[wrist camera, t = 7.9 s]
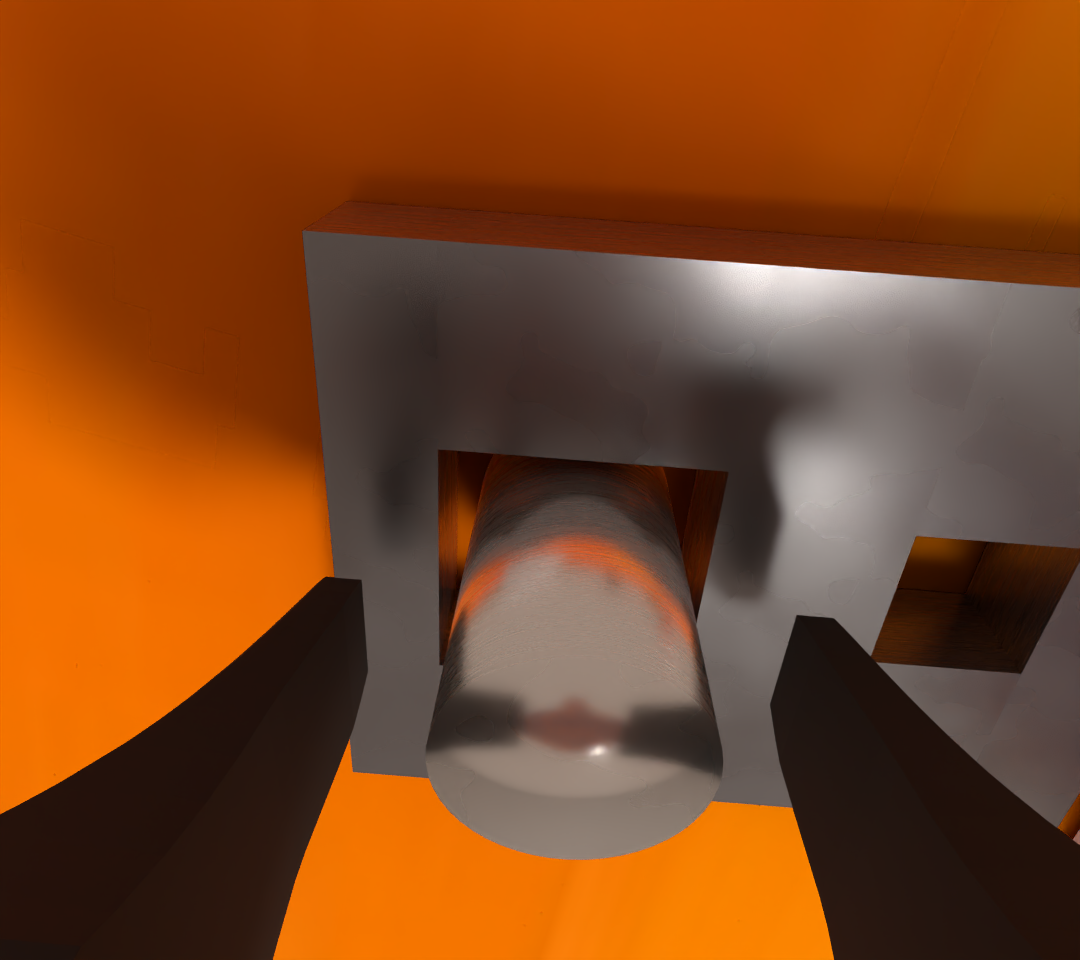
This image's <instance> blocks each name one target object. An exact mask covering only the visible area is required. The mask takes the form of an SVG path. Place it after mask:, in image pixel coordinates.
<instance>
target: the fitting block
mask: <svg viewBox="0 0 1080 960" xmlns="http://www.w3.org/2000/svg"><path fill="white" fill-rule="evenodd" d="M302 234H303V244H304V255H305V266H306V276H307V287H308V298H309V308H310V319H311V330H312V340H313V351H314V362H315V372H316V383H317V394H318V404H319V415H320V426H321V436H322V447H323V458H324V468H325V479H326V490H327V500H328V511H329V522H330V532H331V543H332V554H333V564H334V575H335V578H347V579H359V580H362V591H363V605H364V619H365V633H366V647H367V661H368V674H367V678H366V682H365V686H364V690H363V694H362V698H361V702H360V706H359V710H358V714H357V717H356V721H355V725H354V728H353V731H352V733H351V736H350V745H351V756H352V767H353V772H360V773H373V774H385V775H397V776H410V777H422V778H429V776H428V772H427V767H426V745H427V740H428V735H429V730H430V726H431V721H432V716H433V712H434V707H435V702H436V698H437V693H438V688H439V684H440V679H441V675H442V670H443V665H444V661H445V656H446V651H447V647H448V642H449V637H450V633H451V628H452V623H453V619H454V614H455V609H456V605H457V600H458V595H459V591H460V589H457V501H458V451H467V452H480V453H493V454H506V455H519V456H532V457H545V458H558V459H571V460H584V461H597V462H610V463H623V464H636V465H649V466H662V467H675V468H688V469H697V470H696V475H695V480H694V485H693V491H692V496H691V501H690V506H689V512H688V517H687V522H686V527H685V533H684V538H683V543H682V548H681V552H682V557H683V562H684V567H685V571H686V576H687V581H688V586H689V591H690V596H691V600H692V605H693V610H694V615H695V620H696V624H697V629H698V634H699V639H700V644H701V649H702V653H703V658H704V663H705V668H706V673H707V678H708V682H709V687H710V692H711V697H712V702H713V707H714V711H715V716H716V721H717V726H718V731H719V736H720V740H721V745H722V752H723V771H722V777H721V781H720V784H719V787H718V789H717V791H716V793H715V795H714V797H713V799H712V801H718V802H730V803H743V804H755V805H767V806H779V807H792V804H791V801H790V797H789V794H788V790H787V787H786V784H785V780H784V777H783V773H782V770H781V766H780V763H779V757H778V752H777V746H776V741H775V735H774V728H773V722H772V715H771V709H770V702H771V699H772V695H773V692H774V689H775V685H776V682H777V679H778V675H779V672H780V669H781V665H782V662H783V659H784V655H785V652H786V649H787V645H788V642H789V639H790V635H791V632H792V628H793V625H794V622H795V618H796V615H804V616H817V617H829V618H834V619H835V620H836V621H837V622H838V623H839V624H840V625H841V626H842V627H843V628H844V629H845V630H846V631H847V632H848V633H849V634H850V635H851V636H852V637H853V638H854V639H855V640H856V641H857V642H858V643H859V645H860V646H861V647H862V648H863V649H864V650H865V651H866V652H867V653H868V654H869V655H870V656H871V657H872V658H873V660H874V661H875V662H876V663H877V664H878V665H879V666H880V667H881V668H882V669H883V670H884V671H885V672H886V673H887V674H888V675H889V676H890V678H891V679H892V680H893V681H894V682H895V683H896V684H897V685H898V686H899V687H900V688H901V689H902V690H903V691H904V692H905V693H906V694H907V695H908V696H909V697H910V698H911V699H912V700H913V701H914V702H915V703H916V704H917V705H918V706H919V707H920V708H921V709H922V710H923V711H924V712H925V713H926V714H927V715H928V716H929V717H930V718H931V719H932V720H933V721H934V722H935V723H936V724H937V725H938V726H939V727H940V728H941V729H942V730H943V731H944V732H945V733H946V734H947V735H948V736H949V737H950V738H952V739H953V740H954V741H955V742H956V743H957V744H958V745H959V746H960V747H961V748H962V749H964V750H965V751H966V752H967V753H968V754H969V755H970V756H971V757H972V758H973V759H974V760H976V761H977V762H978V763H979V764H980V765H981V766H982V767H983V768H984V769H985V770H987V771H988V772H989V773H990V774H991V775H992V776H994V777H995V778H996V779H997V780H998V781H999V782H1001V783H1002V784H1003V785H1004V786H1005V787H1007V788H1008V789H1009V790H1010V791H1011V792H1013V793H1014V794H1015V795H1016V796H1018V797H1019V798H1020V799H1021V800H1023V801H1024V802H1025V803H1026V804H1028V805H1029V806H1030V807H1031V808H1032V809H1034V810H1035V811H1036V812H1037V813H1039V814H1040V815H1041V816H1042V817H1044V818H1045V819H1046V820H1047V821H1049V822H1050V823H1051V824H1053V825H1054V826H1055V827H1058V826H1059V824H1060V823H1061V821H1062V820H1063V818H1064V816H1065V815H1066V813H1067V812H1068V810H1069V809H1070V807H1071V806H1072V804H1073V802H1074V801H1075V799H1076V798H1077V796H1078V795H1079V793H1080V255H1076V254H1062V253H1049V252H1035V251H1021V250H1008V249H994V248H980V247H967V246H953V245H940V244H926V243H912V242H899V241H885V240H872V239H858V238H844V237H831V236H817V235H803V234H790V233H776V232H763V231H749V230H735V229H722V228H708V227H694V226H681V225H667V224H654V223H640V222H626V221H613V220H599V219H585V218H572V217H558V216H545V215H531V214H517V213H504V212H490V211H477V210H463V209H449V208H436V207H422V206H408V205H395V204H381V203H368V202H354V201H347V202H345V203H344V204H342V205H341V206H339V207H338V208H336V209H335V210H333V211H331V212H330V213H328V214H327V215H325V216H324V217H322V218H321V219H319V220H318V221H316V222H315V223H313V224H312V225H310V226H309V227H307V228H305V229H304V230H302ZM916 536H924V537H937V538H950V539H963V540H976V541H988V543H987V545H986V547H985V550H984V552H983V554H982V557H981V559H980V561H979V563H978V566H977V568H976V570H975V573H974V575H973V577H972V579H971V582H970V584H969V586H968V589H967V591H966V593H965V594H959V593H946V592H934V591H921V590H908V589H896V588H897V585H898V583H899V580H900V577H901V575H902V572H903V569H904V567H905V564H906V561H907V559H908V556H909V553H910V551H911V548H912V545H913V543H914V540H915V538H916ZM792 808H793V807H792Z"/></svg>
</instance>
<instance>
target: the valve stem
mask: <svg viewBox="0 0 1080 960" xmlns="http://www.w3.org/2000/svg"><path fill="white" fill-rule="evenodd" d="M426 767H427V772H428V776H429V779H430V781H431V784H432V787H433V789H434V790H435V792H436V794H437V795H438V797H439V799H440V800H441V802H442V803H443V804H444V805H445V806H446V808H447V809H448V810H449V811H450V812H451V813H452V814H453V815H454V816H455V817H456V818H457V819H458V820H459V821H460V822H462V823H463V824H465V825H466V826H467V827H469V828H470V829H471V830H473V831H474V832H476V833H478V834H480V835H481V836H483V837H485V838H487V839H489V840H491V841H493V842H495V843H497V844H500V845H502V846H505V847H508V848H511V849H513V850H516V851H520V852H524V853H528V854H532V855H537V856H543V857H548V858H558V859H576V860H587V859H600V858H608V857H615V856H621V855H625V854H629V853H633V852H637V851H640V850H643V849H646V848H649V847H652V846H654V845H656V844H659V843H661V842H663V841H665V840H667V839H669V838H671V837H672V836H674V835H676V834H677V833H679V832H681V831H682V830H684V829H685V828H686V827H687V826H689V825H690V824H691V823H693V822H694V821H695V820H696V819H697V818H698V817H699V816H700V815H701V814H702V813H703V812H704V810H705V809H706V808H707V806H708V805H709V804H710V802H711V801H712V799H713V797H714V795H715V793H716V791H717V789H718V787H719V784H720V781H721V777H722V771H723V752H722V745H721V740H720V736H719V731H718V726H717V721H716V716H715V711H714V707H713V702H712V697H711V692H710V687H709V682H708V678H707V673H706V668H705V663H704V658H703V653H702V649H701V644H700V639H699V634H698V629H697V624H696V620H695V615H694V610H693V605H692V600H691V596H690V591H689V586H688V581H687V576H686V571H685V567H684V562H683V557H682V552H681V547H680V542H679V538H678V533H677V528H676V523H675V518H674V513H673V509H672V504H671V499H670V494H669V489H668V484H667V480H666V476H665V473H664V470H663V467H662V466H649V465H636V464H623V463H610V462H597V461H584V460H571V459H558V458H545V457H532V456H519V455H506V454H494V455H493V457H492V458H491V460H490V462H489V464H488V466H487V469H486V472H485V475H484V479H483V484H482V488H481V493H480V498H479V502H478V507H477V512H476V516H475V521H474V526H473V530H472V535H471V540H470V544H469V549H468V554H467V558H466V563H465V567H464V572H463V577H462V581H461V586H460V591H459V595H458V600H457V605H456V609H455V614H454V619H453V623H452V628H451V633H450V637H449V642H448V647H447V651H446V656H445V661H444V665H443V670H442V675H441V679H440V684H439V688H438V693H437V698H436V702H435V707H434V712H433V716H432V721H431V726H430V730H429V735H428V740H427V745H426Z"/></svg>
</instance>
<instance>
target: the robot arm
mask: <svg viewBox="0 0 1080 960" xmlns="http://www.w3.org/2000/svg"><path fill="white" fill-rule="evenodd" d="M367 674H368V661H367V647H366V633H365V619H364V605H363V591H362V580H359V579H347V578H335V577H325V578H323V579H322V580H321V581H320V582H318V583H317V584H316V585H315V586H314V587H313V588H312V589H311V590H310V591H309V592H308V593H307V594H306V595H305V596H304V597H303V598H302V599H301V600H300V601H299V602H298V603H296V604H295V605H294V606H293V607H292V608H291V609H290V610H289V611H288V612H287V613H286V614H285V615H284V616H283V617H282V618H281V619H280V620H279V621H278V622H276V623H275V624H274V625H273V626H272V627H271V628H270V629H269V630H268V631H267V632H266V633H265V634H263V635H262V636H261V637H260V638H259V639H258V640H257V641H256V642H255V643H253V644H252V645H251V646H250V647H249V648H248V649H247V650H246V651H245V652H243V653H242V654H241V655H240V656H239V657H238V658H237V659H236V660H234V661H233V662H232V663H231V664H230V665H229V666H227V667H226V668H225V669H224V670H222V671H221V672H220V673H219V674H217V675H216V676H215V677H214V678H213V679H211V680H210V681H209V682H208V683H206V684H205V685H204V686H203V687H202V688H200V689H199V690H198V691H197V692H195V693H194V694H193V695H192V696H190V697H189V698H188V699H187V700H185V701H184V702H183V703H181V704H180V705H179V706H177V707H176V708H175V709H173V710H172V711H171V712H169V713H168V714H166V715H165V716H164V717H162V718H161V719H160V720H158V721H157V722H155V723H154V724H152V725H151V726H150V727H148V728H147V729H145V730H144V731H142V732H141V733H139V734H138V735H136V736H135V737H133V738H132V739H130V740H129V741H127V742H126V743H124V744H123V745H121V746H120V747H118V748H116V749H115V750H113V751H111V752H110V753H108V754H106V755H105V756H103V757H101V758H100V759H98V760H96V761H95V762H93V763H91V764H90V765H88V766H86V767H85V768H83V769H81V770H80V771H78V772H77V773H75V774H73V775H72V776H70V777H68V778H67V779H65V780H63V781H62V782H60V783H58V784H56V785H55V786H53V787H51V788H49V789H47V790H45V791H44V792H42V793H40V794H38V795H36V796H34V797H32V798H31V799H29V800H27V801H25V802H23V803H21V804H20V805H18V806H16V807H14V808H12V809H10V810H8V811H6V812H4V813H2V814H0V960H273V956H274V953H275V949H276V945H277V942H278V938H279V935H280V931H281V928H282V924H283V921H284V918H285V914H286V911H287V907H288V904H289V900H290V897H291V893H292V890H293V886H294V883H295V880H296V877H297V874H298V871H299V868H300V865H301V862H302V859H303V857H304V854H305V851H306V848H307V846H308V843H309V841H310V838H311V836H312V833H313V831H314V828H315V826H316V823H317V821H318V818H319V815H320V813H321V810H322V808H323V805H324V803H325V800H326V798H327V795H328V793H329V790H330V788H331V785H332V782H333V780H334V777H335V775H336V772H337V770H338V767H339V765H340V762H341V759H342V757H343V754H344V752H345V749H346V747H347V744H348V741H349V739H350V736H351V733H352V731H353V728H354V725H355V721H356V717H357V714H358V710H359V706H360V702H361V698H362V694H363V690H364V686H365V682H366V678H367ZM770 709H771V715H772V722H773V728H774V735H775V741H776V746H777V752H778V757H779V763H780V766H781V770H782V773H783V777H784V780H785V784H786V787H787V790H788V794H789V797H790V801H791V804H792V807H793V811H794V814H795V817H796V820H797V824H798V827H799V830H800V833H801V837H802V840H803V843H804V847H805V850H806V853H807V856H808V860H809V863H810V866H811V870H812V873H813V876H814V879H815V883H816V886H817V889H818V892H819V896H820V900H821V903H822V907H823V911H824V915H825V919H826V923H827V926H828V931H829V936H830V941H831V946H832V951H833V956H834V960H1080V830H1079V831H1078V833H1077V834H1076V836H1075V837H1074V839H1073V840H1072V839H1071V838H1070V837H1068V836H1067V835H1066V834H1064V833H1063V832H1062V831H1061V830H1059V829H1058V828H1057V827H1055V826H1054V825H1053V824H1051V823H1050V822H1049V821H1047V820H1046V819H1045V818H1044V817H1042V816H1041V815H1040V814H1039V813H1037V812H1036V811H1035V810H1034V809H1032V808H1031V807H1030V806H1029V805H1028V804H1026V803H1025V802H1024V801H1023V800H1021V799H1020V798H1019V797H1018V796H1016V795H1015V794H1014V793H1013V792H1011V791H1010V790H1009V789H1008V788H1007V787H1005V786H1004V785H1003V784H1002V783H1001V782H999V781H998V780H997V779H996V778H995V777H994V776H992V775H991V774H990V773H989V772H988V771H987V770H985V769H984V768H983V767H982V766H981V765H980V764H979V763H978V762H977V761H976V760H974V759H973V758H972V757H971V756H970V755H969V754H968V753H967V752H966V751H965V750H964V749H962V748H961V747H960V746H959V745H958V744H957V743H956V742H955V741H954V740H953V739H952V738H950V737H949V736H948V735H947V734H946V733H945V732H944V731H943V730H942V729H941V728H940V727H939V726H938V725H937V724H936V723H935V722H934V721H933V720H932V719H931V718H930V717H929V716H928V715H927V714H926V713H925V712H924V711H923V710H922V709H921V708H920V707H919V706H918V705H917V704H916V703H915V702H914V701H913V700H912V699H911V698H910V697H909V696H908V695H907V694H906V693H905V692H904V691H903V690H902V689H901V688H900V687H899V686H898V685H897V684H896V683H895V682H894V681H893V680H892V679H891V678H890V676H889V675H888V674H887V673H886V672H885V671H884V670H883V669H882V668H881V667H880V666H879V665H878V664H877V663H876V662H875V661H874V660H873V658H872V657H871V656H870V655H869V654H868V653H867V652H866V651H865V650H864V649H863V648H862V647H861V646H860V645H859V643H858V642H857V641H856V640H855V639H854V638H853V637H852V636H851V635H850V634H849V633H848V632H847V631H846V630H845V629H844V628H843V627H842V626H841V625H840V624H839V623H838V622H837V621H836V620H835V619H834V618H829V617H817V616H804V615H796V618H795V622H794V625H793V628H792V632H791V635H790V639H789V642H788V645H787V649H786V652H785V655H784V659H783V662H782V665H781V669H780V672H779V675H778V679H777V682H776V685H775V689H774V692H773V695H772V699H771V702H770Z"/></svg>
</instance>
